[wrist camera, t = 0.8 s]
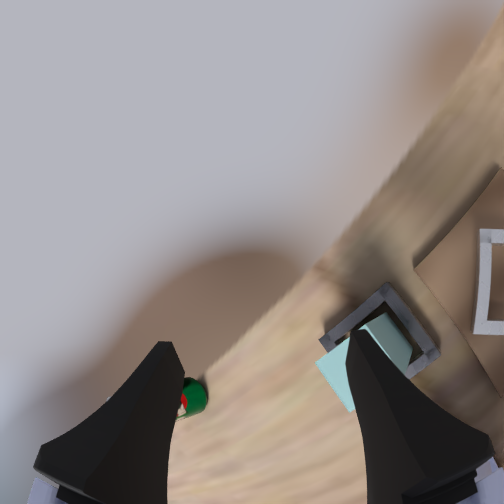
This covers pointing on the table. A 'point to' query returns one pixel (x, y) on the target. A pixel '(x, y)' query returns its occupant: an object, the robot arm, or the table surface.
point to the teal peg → (385, 337)
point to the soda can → (190, 399)
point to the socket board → (474, 278)
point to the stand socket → (405, 316)
